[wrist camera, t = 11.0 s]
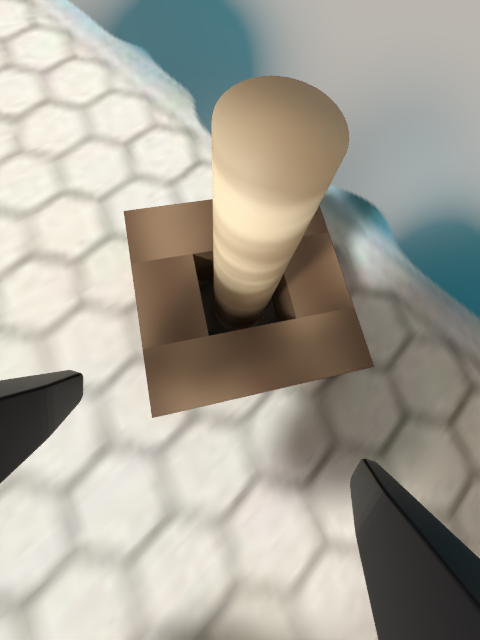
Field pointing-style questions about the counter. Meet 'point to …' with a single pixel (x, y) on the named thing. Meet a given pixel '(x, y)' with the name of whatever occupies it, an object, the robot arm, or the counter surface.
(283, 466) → the counter surface
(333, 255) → the walnut socket block
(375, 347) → the counter surface
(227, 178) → the tall oak dowel
